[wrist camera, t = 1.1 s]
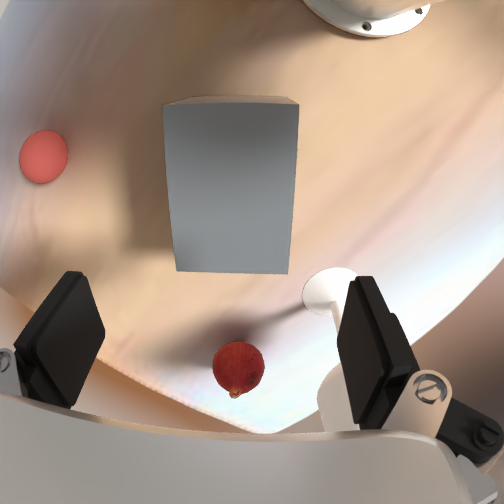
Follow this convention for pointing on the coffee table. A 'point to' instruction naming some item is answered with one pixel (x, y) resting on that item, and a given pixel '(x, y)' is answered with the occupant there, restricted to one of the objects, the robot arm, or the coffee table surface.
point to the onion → (238, 367)
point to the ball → (43, 156)
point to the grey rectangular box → (231, 182)
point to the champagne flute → (332, 304)
